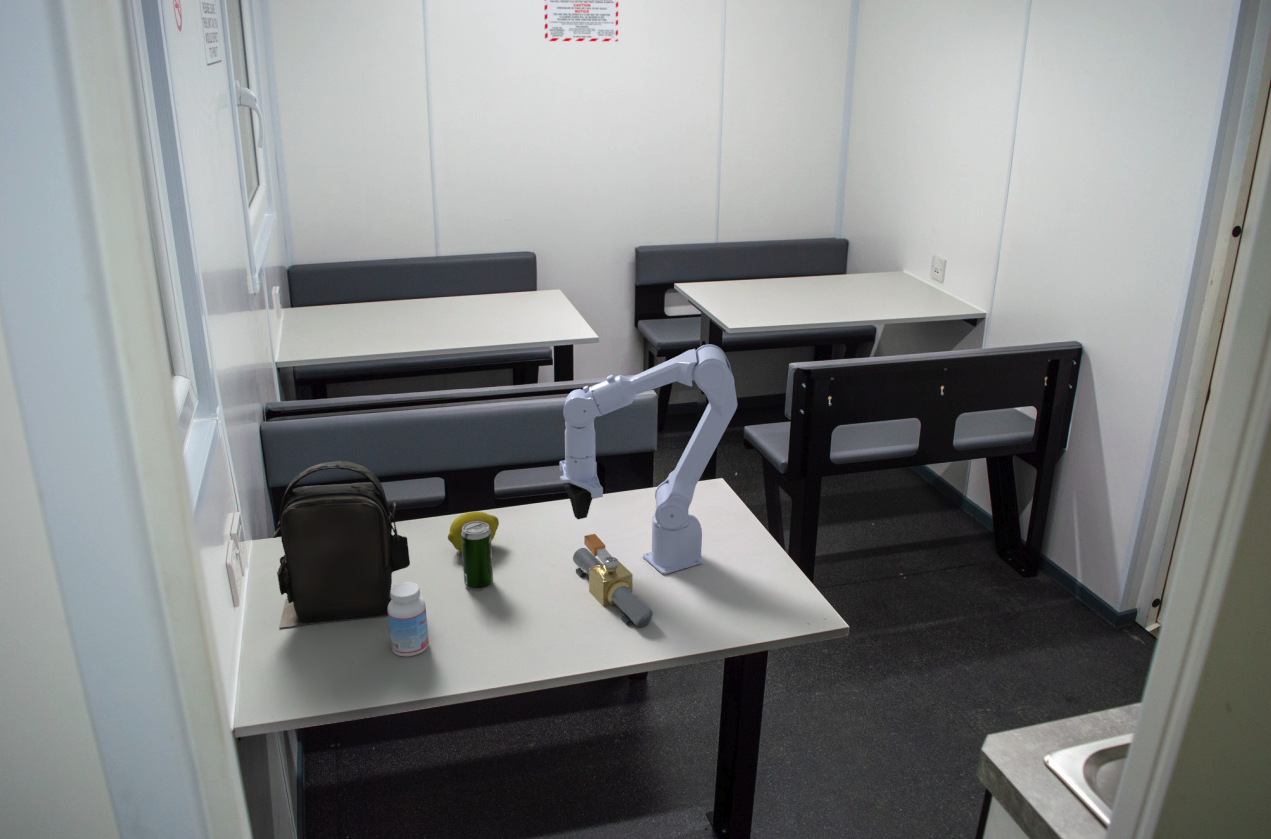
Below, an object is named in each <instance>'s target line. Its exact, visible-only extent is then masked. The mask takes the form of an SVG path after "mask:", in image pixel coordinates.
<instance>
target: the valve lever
mask: <svg viewBox="0 0 1271 839" xmlns="http://www.w3.org/2000/svg"><path fill="white" fill-rule="evenodd" d="M583 539H584V546H585V547H586V549H588V550H589V551H590V552H591V553H592V554H593V555H594V556H595V557H597V559H598V560H599V561H600V562H601V563H602V564H604V568H605V571H607V572H610V573H611V572H615V571H616V568H617V567H618V561H619V560H618V558H616V557H614V556H612V555H611V554H610V552H609V551H608V550H607V549H606V544H605V543H604V542H603V541H602V540H601V539H600V538H599V536H598V535H597V534H596V533H592V534H587V535H584V537H583Z"/></svg>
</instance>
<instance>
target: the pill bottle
mask: <svg viewBox="0 0 1271 839" xmlns="http://www.w3.org/2000/svg"><path fill="white" fill-rule="evenodd" d="M420 590H421V589H420V586H419V584H417V583H416V582H413V581H403V582H399V583H396V584H395V585H393V586H391V591H390V593H391V599H392V600H391V601H390V602H389V604H388V616H387V617H388V618H387V619H388V627H389V635H390V646H391V650H392V652H393V653H394V654H395V655H397V656H400V657H412V656H416V655H419V654H421V653H423V652H424V651H426V649H427V648H428V647H429V644H430V641H429V631H428V630H429V629H428V619H427V618H428V617H427V607H426V602H425V599H424V598H423V597H422V596H421V591H420Z"/></svg>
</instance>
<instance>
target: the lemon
mask: <svg viewBox="0 0 1271 839" xmlns="http://www.w3.org/2000/svg"><path fill="white" fill-rule="evenodd" d="M477 521H479V522H484V523H487V524H488V525H489V529H490V531H491V542H492V541H493V539H494V538H495V536H496V533H497V530H498V528H499V525H500V521H499V518H498V517H497V516H496V515H493V514H489V513H487V512H483V511H468V512H464V513H462V514H460V515H459V516H457V517H455V518H454V520H453V521H452V523H451V525H450V527H449V533H448V535H447V539H448V541H449V542H450V543H451V544H452V546H453V548H454V549H456V550H457V551H459V552H461V553H462V540H461V532H462V527H463V526H464V525H465V524H467V523H470V522H477Z"/></svg>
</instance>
